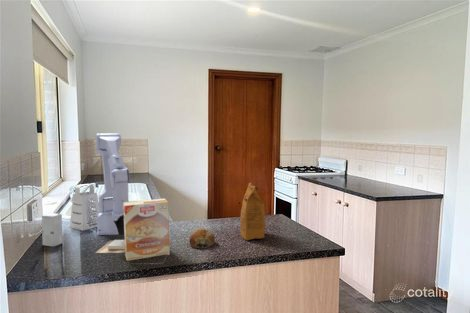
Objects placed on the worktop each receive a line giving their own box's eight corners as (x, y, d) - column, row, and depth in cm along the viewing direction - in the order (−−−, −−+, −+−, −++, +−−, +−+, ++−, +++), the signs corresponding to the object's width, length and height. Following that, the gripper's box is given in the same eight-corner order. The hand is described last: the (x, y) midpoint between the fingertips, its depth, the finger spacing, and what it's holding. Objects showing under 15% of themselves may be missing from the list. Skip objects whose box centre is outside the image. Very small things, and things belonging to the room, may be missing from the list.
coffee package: (261, 231, 143) (260, 181, 141) (267, 240, 131) (266, 186, 129) (239, 232, 142) (238, 182, 140) (242, 241, 130) (241, 187, 128)
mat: (95, 253, 119) (94, 252, 119) (110, 241, 133) (110, 240, 133) (133, 253, 118) (133, 252, 118) (144, 241, 132) (144, 240, 132)
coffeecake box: (126, 262, 111) (124, 205, 109) (124, 255, 117) (122, 201, 116) (170, 255, 116) (168, 201, 115) (166, 248, 123) (164, 197, 122)
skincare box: (42, 245, 129) (40, 215, 128) (51, 241, 133) (49, 212, 132) (54, 246, 127) (52, 216, 126) (63, 243, 131) (61, 213, 130)
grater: (102, 224, 158) (101, 184, 156) (82, 230, 149) (80, 187, 147) (89, 222, 163) (88, 182, 162) (69, 227, 154) (67, 185, 153)
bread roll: (217, 251, 129) (219, 231, 132) (207, 248, 120) (210, 227, 123) (194, 249, 132) (197, 229, 135) (183, 246, 123) (187, 225, 126)
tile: (114, 243, 128) (107, 250, 121) (114, 239, 128) (107, 245, 121) (132, 243, 128) (126, 249, 121) (132, 239, 128) (126, 245, 121)
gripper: (124, 203, 118) (125, 240, 119) (137, 196, 133) (138, 228, 134) (105, 203, 119) (106, 240, 119) (119, 196, 133) (121, 228, 134)
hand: (122, 234), depth 127 cm, fingers closed
